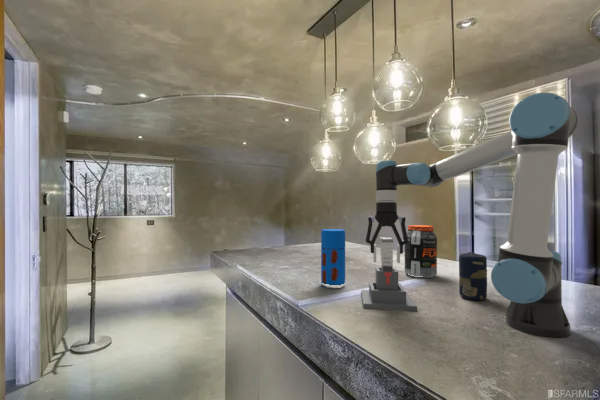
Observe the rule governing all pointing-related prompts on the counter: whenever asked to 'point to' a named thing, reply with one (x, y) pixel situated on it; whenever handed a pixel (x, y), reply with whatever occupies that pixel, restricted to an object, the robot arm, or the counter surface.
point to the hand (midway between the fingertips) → (386, 262)
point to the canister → (473, 276)
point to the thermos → (333, 256)
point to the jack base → (387, 292)
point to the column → (386, 252)
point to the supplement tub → (421, 251)
